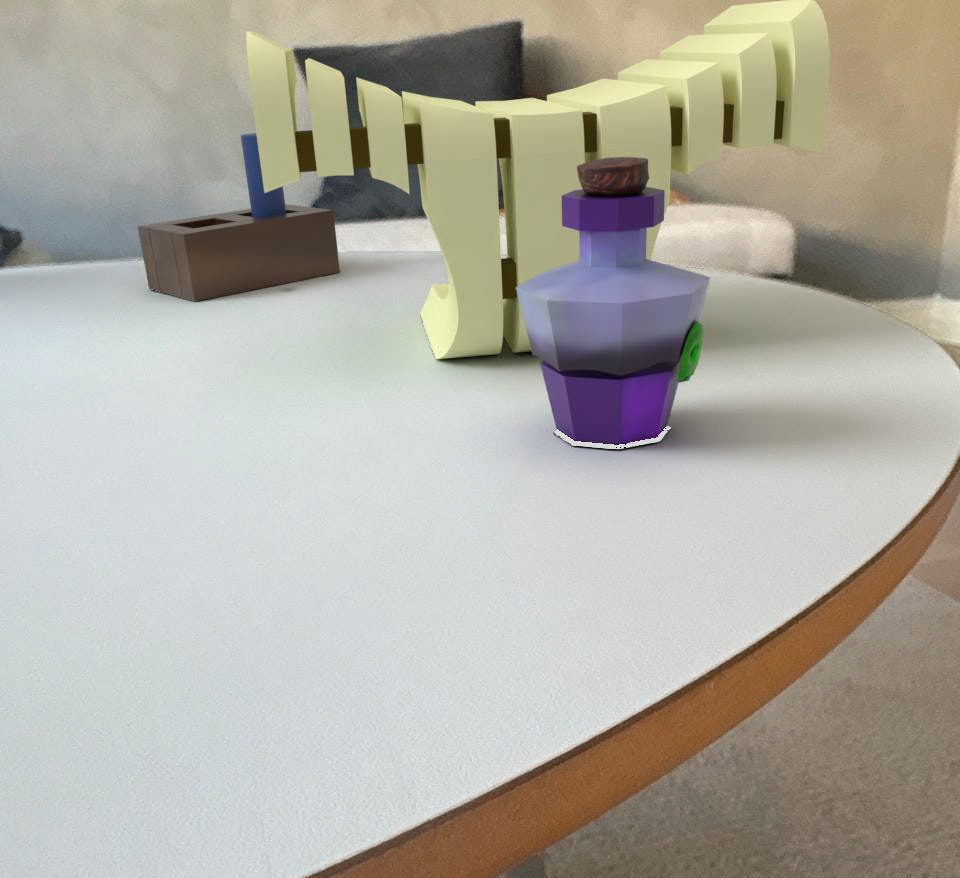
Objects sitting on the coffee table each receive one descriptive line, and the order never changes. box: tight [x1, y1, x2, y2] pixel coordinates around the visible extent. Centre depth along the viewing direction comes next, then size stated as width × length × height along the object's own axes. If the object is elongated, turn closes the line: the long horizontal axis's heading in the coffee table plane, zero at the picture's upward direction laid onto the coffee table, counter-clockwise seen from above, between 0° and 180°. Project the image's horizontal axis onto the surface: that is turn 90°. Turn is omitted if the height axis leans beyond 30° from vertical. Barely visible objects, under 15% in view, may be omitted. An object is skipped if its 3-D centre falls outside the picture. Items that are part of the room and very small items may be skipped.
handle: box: [240, 132, 286, 218], centre depth 89 cm, size 3×3×11 cm
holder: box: [137, 203, 341, 303], centre depth 89 cm, size 8×14×5 cm, turn 131°
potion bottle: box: [516, 157, 711, 448], centre depth 49 cm, size 9×9×12 cm
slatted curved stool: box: [245, 0, 831, 360], centre depth 65 cm, size 30×16×18 cm, turn 97°
